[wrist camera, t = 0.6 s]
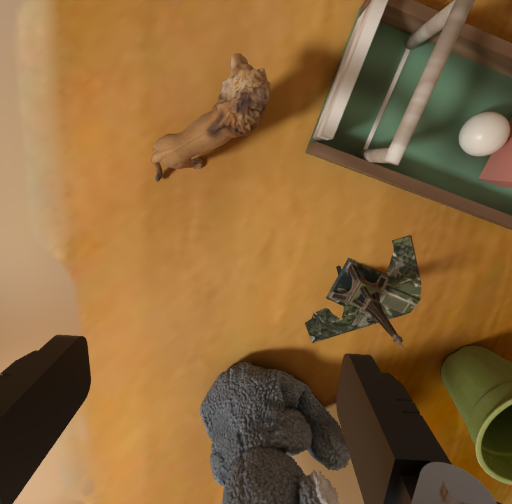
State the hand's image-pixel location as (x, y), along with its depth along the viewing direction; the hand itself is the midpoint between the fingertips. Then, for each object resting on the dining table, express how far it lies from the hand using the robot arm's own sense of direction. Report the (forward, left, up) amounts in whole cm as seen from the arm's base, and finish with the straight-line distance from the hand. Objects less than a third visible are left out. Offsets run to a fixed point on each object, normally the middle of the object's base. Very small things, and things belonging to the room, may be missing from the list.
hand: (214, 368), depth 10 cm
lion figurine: (-7, -6, -28) cm, 29 cm away
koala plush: (+24, +11, -28) cm, 38 cm away
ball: (-15, +19, -24) cm, 34 cm away
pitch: (-16, +16, -27) cm, 35 cm away
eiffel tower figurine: (+4, +16, -28) cm, 32 cm away
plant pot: (+9, +34, -27) cm, 45 cm away
